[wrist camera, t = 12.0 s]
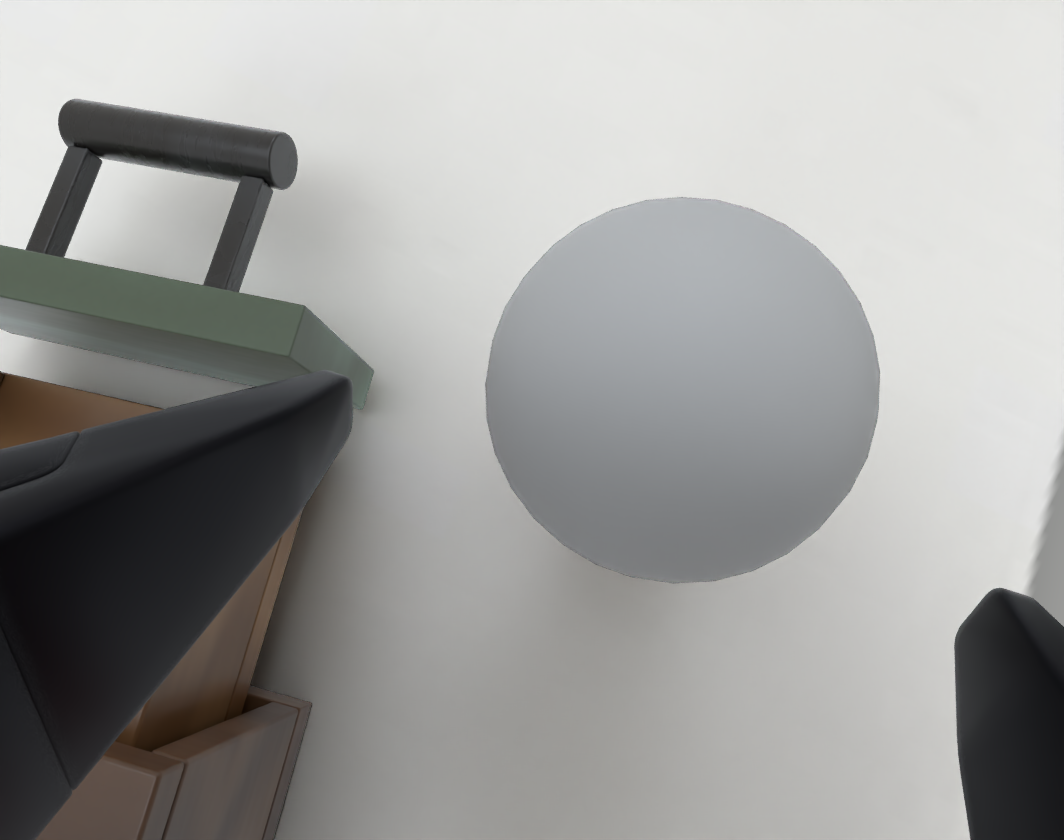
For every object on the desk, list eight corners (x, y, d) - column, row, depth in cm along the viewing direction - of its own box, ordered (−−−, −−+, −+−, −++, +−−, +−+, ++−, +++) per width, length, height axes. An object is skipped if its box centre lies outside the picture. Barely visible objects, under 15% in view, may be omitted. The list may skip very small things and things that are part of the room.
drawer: (83, 157, 22) (-57, 42, 17) (420, 216, 20) (368, 108, 15) (-181, 800, 18) (-454, 880, 13) (210, 932, 16) (57, 1077, 12)
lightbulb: (724, 344, 19) (888, 65, 9) (773, 559, 18) (1042, 541, 7) (514, 380, 20) (424, 152, 9) (547, 594, 18) (485, 625, 8)
